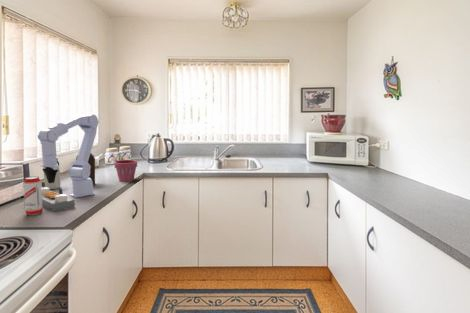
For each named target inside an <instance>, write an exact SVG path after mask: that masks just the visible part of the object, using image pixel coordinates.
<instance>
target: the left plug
mask: <svg viewBox="0 0 470 313" xmlns="http://www.w3.org/2000/svg"><path fill="white" fill-rule="evenodd" d="M50 191H51V189H50V188H47V187H45V182H44V181H42V182H41V192H42V194H44V193H48V192H50Z"/></svg>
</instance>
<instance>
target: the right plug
mask: <svg viewBox="0 0 470 313" xmlns="http://www.w3.org/2000/svg"><path fill="white" fill-rule="evenodd" d="M58 194H61V195H55V201H56V202H63V201H67V197H68V195H67V194H65V193H63V188H61V187H60V188H58Z"/></svg>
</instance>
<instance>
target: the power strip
mask: <svg viewBox="0 0 470 313" xmlns="http://www.w3.org/2000/svg"><path fill="white" fill-rule="evenodd" d="M50 192H54V193H57V194H59V192H55V191H53V190H50ZM60 195H61V194H60ZM42 206H43V208H46V209H48V210H49V211H52V212H54V213H55V212H59V211H63V210H68V209H72V208H76V207H75V206H76V205H75V199H73V198H71V197H68V196H67V201H63V202H56V201H55V198H50V197H47V195H45V196H44V194H42Z"/></svg>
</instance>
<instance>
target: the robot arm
mask: <svg viewBox="0 0 470 313" xmlns="http://www.w3.org/2000/svg"><path fill="white" fill-rule="evenodd" d="M99 122H100V121H99V119H98V116H97V115H96V114H82V113H78V114H77V115H75V116H74V117H73V118H71V119H69V120H67V121H65V122H55V123H56V124H54V125H52V126H49V127H48V128H47V129H45V128H44V129H41V130H40V131H39V132H38V135H37V139H38V140H39V142H40V144H41V154H42V155H41V156H42V162H41V164H39V165H40V167H46V168H45V169H43V168H42V171H43V174H44V173H45V175H46V177H47V180H48V183H54V181H55V176H56V173H57V171H58V170H60V164H59V165H58V164H57V157H58V156H57V146H56V145H57V143H56V142H57V141H58V140H59V138H60V137H63V135H65V134H67V133H68V132H69V130H70V129H72V128H74V127H76V126H78V127H79V128H80V129H81V130H82V131H83V132H84V134H83V138H82V142H81V145H80V148H79V151H78V155H77V156H78V157H77V156H76V157H77V160H76V159H75V161H73V162H71V165H70V167H69V168H68V170H67V174H68V177H70V180H71V187H72V193H70V194H69V196H71V197H74V198H81V197H86V196H92V195H95V193H94V185H93V182H92V179H91V178H88V177H89V176H90V168H91V166H90V165H89V164H88V160H89V156H90V153H91V154H92V152H91V151H92V149H93V145H94V142H95V139H96V136H97V129H98V126H99Z"/></svg>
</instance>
